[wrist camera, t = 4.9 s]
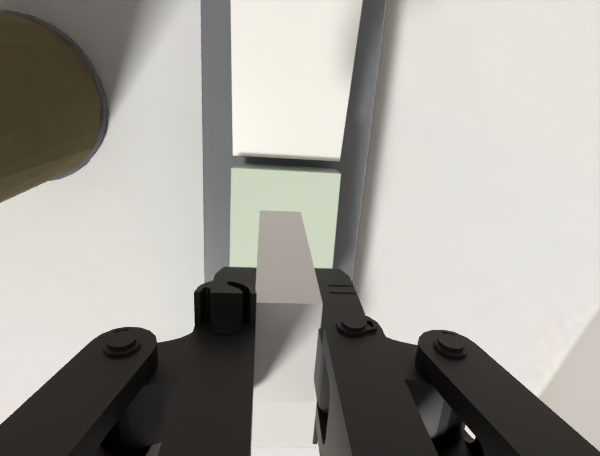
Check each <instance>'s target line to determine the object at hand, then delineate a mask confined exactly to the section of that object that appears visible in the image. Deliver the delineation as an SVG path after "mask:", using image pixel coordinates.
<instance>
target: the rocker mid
mask: <svg viewBox="0 0 600 456" xmlns="http://www.w3.org/2000/svg"><path fill="white" fill-rule="evenodd" d="M340 179H341V173H340V172H339V171H338V170H337V169H334V168H315V167H297V166H279V165H261V164H242V163H234V165H233V166H232V167H231V208H230V267H255V268H257V253H258V236H259V219H260V210H266V211H290V212H301V215H302V219H303V224H304V228H305V232H306V236H307V240H308V244H309V249H310V253H311V257H312V261H313V265H314V268H332V267H333V256H334V245H335V234H336V223H337V212H338V201H339V190H340Z"/></svg>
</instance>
